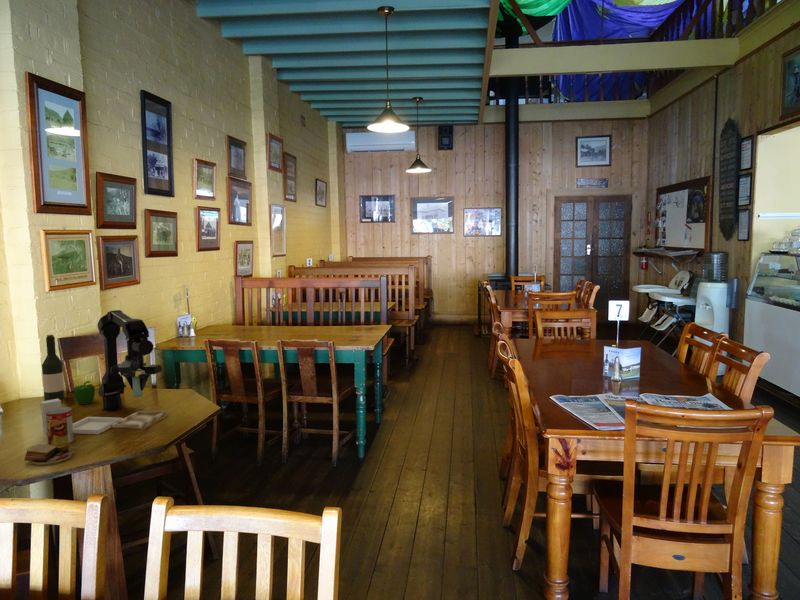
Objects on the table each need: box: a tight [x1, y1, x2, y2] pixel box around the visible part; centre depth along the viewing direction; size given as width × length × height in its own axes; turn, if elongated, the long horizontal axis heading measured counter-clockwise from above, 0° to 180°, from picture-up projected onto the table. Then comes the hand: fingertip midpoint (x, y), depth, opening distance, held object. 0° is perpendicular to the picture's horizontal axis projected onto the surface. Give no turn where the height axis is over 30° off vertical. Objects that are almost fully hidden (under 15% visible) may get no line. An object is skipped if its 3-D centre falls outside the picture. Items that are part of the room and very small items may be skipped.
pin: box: [132, 375, 144, 399], centre depth 226 cm, size 3×3×8 cm
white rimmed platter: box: [72, 416, 123, 435], centre depth 220 cm, size 15×15×2 cm
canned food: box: [46, 406, 74, 446], centre depth 204 cm, size 8×8×12 cm
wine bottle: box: [41, 334, 66, 401], centre depth 261 cm, size 8×8×30 cm
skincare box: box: [40, 399, 62, 434], centre depth 217 cm, size 6×4×12 cm
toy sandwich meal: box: [24, 442, 74, 466], centre depth 189 cm, size 12×14×5 cm
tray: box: [111, 410, 167, 430], centre depth 227 cm, size 18×12×2 cm, turn 172°
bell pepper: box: [73, 380, 96, 405], centre depth 255 cm, size 8×8×10 cm
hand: (137, 390), depth 226 cm, fingers closed on pin, 3 cm apart
